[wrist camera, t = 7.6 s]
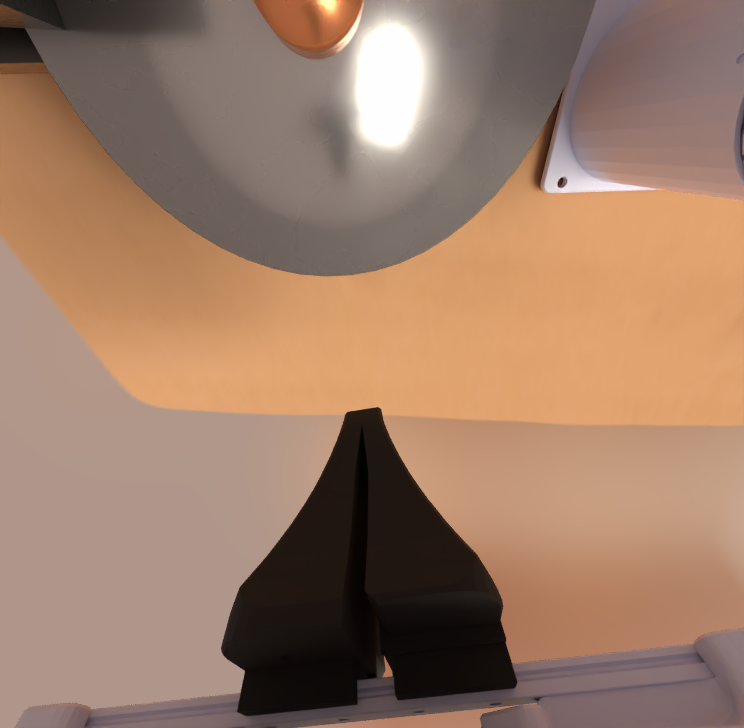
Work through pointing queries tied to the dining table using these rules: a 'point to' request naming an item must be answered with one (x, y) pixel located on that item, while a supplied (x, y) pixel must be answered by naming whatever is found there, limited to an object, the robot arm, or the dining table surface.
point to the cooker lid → (312, 112)
